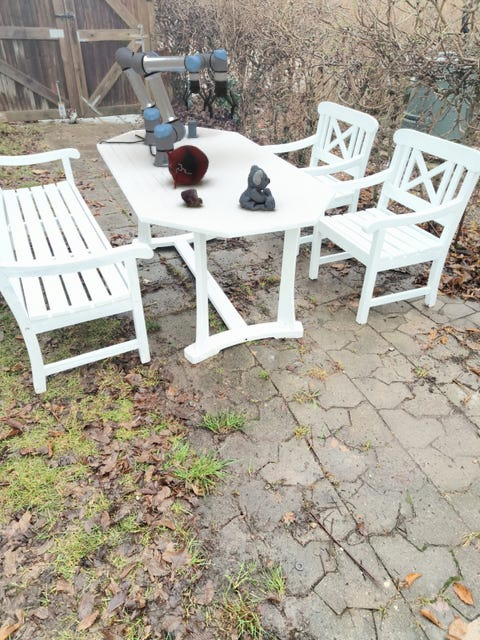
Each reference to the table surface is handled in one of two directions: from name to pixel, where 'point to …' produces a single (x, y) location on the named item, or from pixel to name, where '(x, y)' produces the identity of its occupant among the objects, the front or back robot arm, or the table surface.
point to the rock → (191, 197)
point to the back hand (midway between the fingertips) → (196, 110)
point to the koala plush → (257, 191)
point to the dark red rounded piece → (187, 164)
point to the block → (192, 129)
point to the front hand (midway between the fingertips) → (221, 118)
